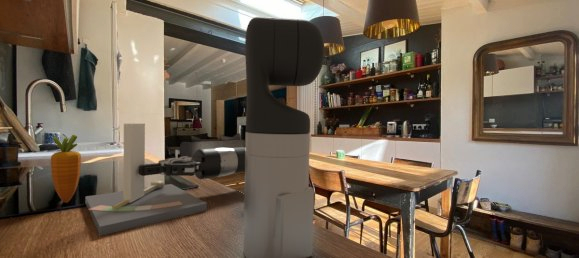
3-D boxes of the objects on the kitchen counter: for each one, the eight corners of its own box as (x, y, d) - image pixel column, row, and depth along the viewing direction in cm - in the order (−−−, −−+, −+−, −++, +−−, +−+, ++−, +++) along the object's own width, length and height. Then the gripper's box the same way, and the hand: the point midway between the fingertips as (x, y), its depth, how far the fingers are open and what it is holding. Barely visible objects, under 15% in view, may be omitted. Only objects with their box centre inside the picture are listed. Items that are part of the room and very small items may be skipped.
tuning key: (122, 209, 47) (122, 123, 46) (105, 209, 47) (105, 123, 46) (166, 185, 65) (166, 123, 64) (154, 185, 65) (155, 123, 64)
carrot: (44, 206, 53) (43, 135, 52) (64, 199, 58) (64, 134, 57) (68, 206, 53) (68, 135, 52) (86, 199, 58) (86, 134, 57)
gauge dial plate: (206, 210, 52) (206, 202, 52) (96, 236, 40) (96, 226, 40) (171, 189, 68) (171, 183, 68) (82, 203, 55) (82, 196, 55)
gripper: (204, 145, 70) (132, 149, 58) (228, 150, 60) (148, 156, 48) (204, 172, 70) (132, 182, 58) (228, 181, 60) (148, 195, 48)
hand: (139, 170), depth 53 cm, fingers closed
